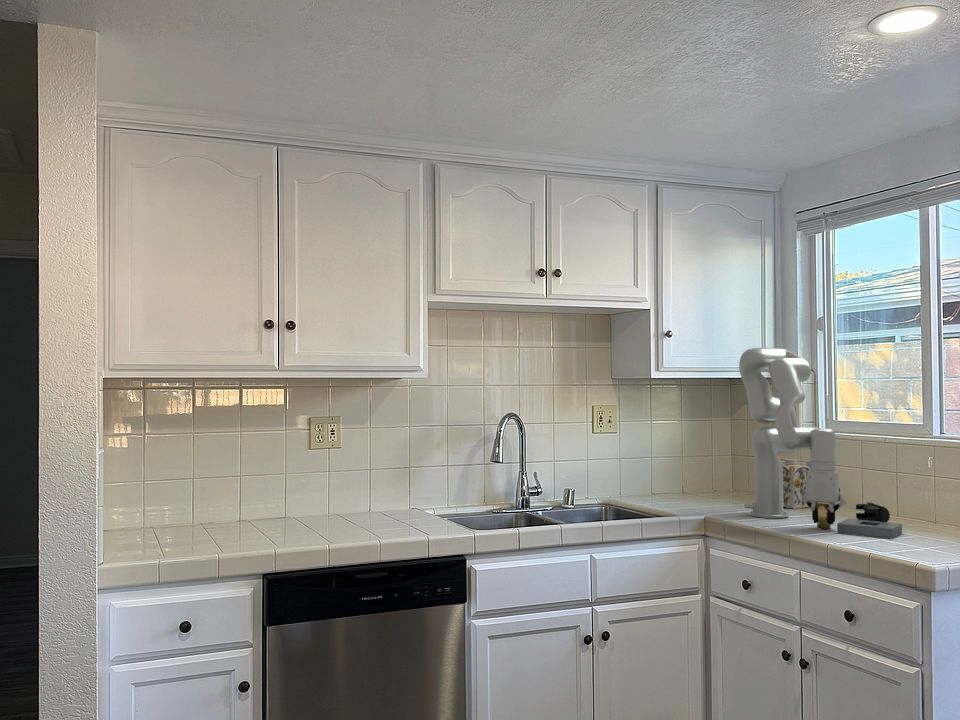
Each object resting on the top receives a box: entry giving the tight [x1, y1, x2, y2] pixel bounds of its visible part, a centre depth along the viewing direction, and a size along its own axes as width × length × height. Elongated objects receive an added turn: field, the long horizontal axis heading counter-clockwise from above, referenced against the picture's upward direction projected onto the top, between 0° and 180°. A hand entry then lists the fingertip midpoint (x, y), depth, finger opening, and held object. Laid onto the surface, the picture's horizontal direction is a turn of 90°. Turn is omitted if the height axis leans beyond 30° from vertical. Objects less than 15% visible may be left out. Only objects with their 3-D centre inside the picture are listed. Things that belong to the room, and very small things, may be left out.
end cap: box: [855, 501, 891, 522], centre depth 281 cm, size 10×7×7 cm
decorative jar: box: [782, 458, 812, 510], centre depth 322 cm, size 12×12×18 cm
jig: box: [836, 518, 903, 539], centre depth 264 cm, size 16×12×3 cm
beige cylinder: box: [816, 502, 831, 530], centre depth 273 cm, size 4×4×8 cm
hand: (823, 522), depth 273 cm, fingers closed on beige cylinder, 4 cm apart
